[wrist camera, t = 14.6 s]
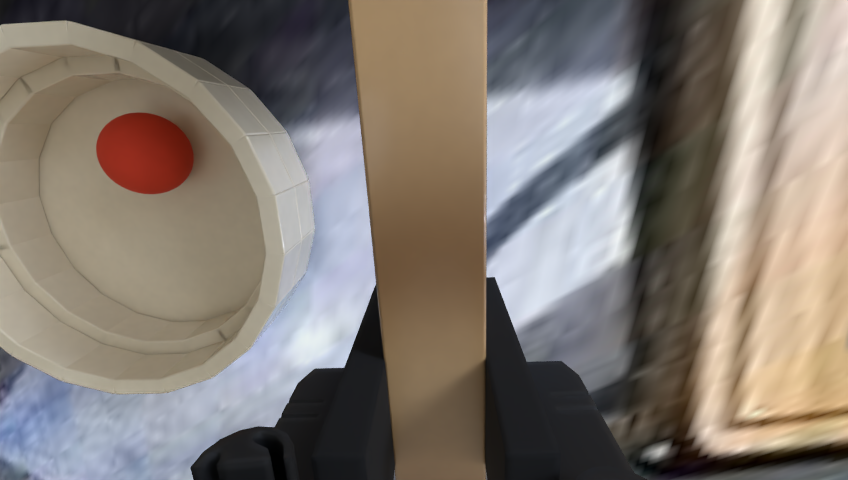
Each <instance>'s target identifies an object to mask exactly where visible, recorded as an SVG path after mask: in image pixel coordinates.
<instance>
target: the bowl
mask: <svg viewBox="0 0 848 480" xmlns="http://www.w3.org/2000/svg"><path fill="white" fill-rule="evenodd" d="M136 112H142V113H150V114H155V115H158V116H161V117H163V118H165V119H167V120H169V121H171V122H172V123H174V124H175V125H177V126H178V127H179V128H180V129H181V130H182V131H183V132H184V133H185V135H186V136H187V138H188V139H189V141H190V143H191V146H192V149H193V154H194V163H193V167H192V170H191V173H190V174H189V176H188V178H187V179H186V180H185V181H184V182H183V183H182V184H181V185H180V186H178V187H177V188H175V189H173V190H171V191H168V192H165V193H160V194H141V193H137V192H133V191H130V190H128V189H125V188H123V187H121V186H120V185H118V184H116V183H115V182H114V181H113V180H111V179H110V178H109V177H108V176H107V175H106V173H105V172H104V171H103V169H102V167H101V166H100V164H99V161H98V158H97V153H96V144H97V139H98V136H99V134H100V132H101V131H102V129H103V128H104V127H105V126H106V124H108V123H109V122H110V121H111V120H113V119H115V118H116V117H119V116H121V115H124V114H128V113H136ZM308 180H309V179H308V177H307V174H306V172H305V170H304V168H303V166H302V163H301V161H300V159H299V157H298V155H297V152H296V150H295V148H294V146H293V144H292V141H291V139H290V137H289V135H288V133H287V131H286V130H285V129H284V128H283V126H282V125H281V124H280V123H279V122H278V121H277V119H276V118H275V117H274V116H273V115H272V114H271V112H270V111H269V110H268V109H267V108H266V107H265V105H264V104H263V103H262V102H261V101H260V100H259V98H258V97H257V96H256V95H255V94H254V93H253V91H251V90H250V89H249V88H248V87H246V86H245V85H243V84H242V83H240V82H238V81H237V80H235V79H234V78H232V77H231V76H229V75H228V74H226V73H225V72H223V71H222V70H220V69H219V68H217V67H215V66H214V65H212V64H211V63H209V62H208V61H206V60H205V59H202V58H200V57H197V56H193V55H190V54H186V53H183V52H179V51H176V50H172V49H169V48H165V47H161V46H158V45H154V44H151V43H147V42H144V41H140V40H137V39H133V38H129V37H126V36H122V35H119V34H115V33H111V32H108V31H104V30H101V29H97V28H93V27H90V26H86V25H83V24H79V23H75V22H72V21H66V20H63V21H47V22H31V23H15V24H2V25H0V347H1V348H2V349H3V350H5V351H6V352H7V353H8V354H11V356H13V357H14V358H16V359H18V360H20V361H22V362H24V363H26V364H28V365H30V366H32V367H34V368H36V369H38V370H40V371H42V372H44V373H46V374H48V375H50V376H52V377H54V378H56V379H58V380H60V381H63V382H66V383H70V384H75V385H79V386H83V387H87V388H91V389H95V390H99V391H104V392H108V393H112V394H153V393H166V392H167V393H169V392H172V391H175V390H178V389H181V388H184V387H187V386H190V385H193V384H196V383H199V382H202V381H205V380H208V379H211V378H213V377H215V376H216V375H217V374H219V373H220V372H221V371H222V370H224V369H225V368H226V367H228V366H229V365H230V364H231V363H233V362H234V361H235V360H237V359H238V358H239V357H240V356H242V355H243V354H244V353H246V352H247V351H248V350H249V349H250V348H251V347H252V346H253V345H254V344H255V342H256V341H257V340H258V339H259V338H260V336H261V335H262V334H263V333H264V331H265V330H266V329H267V328H268V327H269V325H270V324H271V323H272V322H273V321H274V319H275V318H276V317H277V316H278V314H279V313H280V312H281V311H282V310H283V308H284V307H285V306H286V304H287V303H288V301H289V300H290V298H291V296H292V295H293V293H294V291H295V290H296V288H297V286H298V285H299V283H300V282H301V280H302V278H303V277H304V275H305V273H306V271H307V267H308V262H309V258H310V253H311V248H312V243H313V238H314V233H315V223H314V215H313V207H312V199H311V191H310V184H309V181H308Z"/></svg>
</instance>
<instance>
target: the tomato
mask: <svg viewBox="0 0 848 480" xmlns="http://www.w3.org/2000/svg"><path fill="white" fill-rule="evenodd" d="M96 153H97V158H98V161H99V164H100V166H101V167H102V169H103V171H104V172H105V173H106V175H107V176H108V177H109V178H110V179H111V180H113V181H114V182H115V183H116V184H118V185H120V186H121V187H123V188H125V189H128V190H130V191H133V192H137V193H141V194H160V193H165V192H168V191H171V190H173V189H175V188H177V187H178V186H180V185H181V184H182V183H183V182H184V181H185V180H186V179H187V178H188V176H189V174H190V173H191V170H192V167H193V163H194V154H193V149H192V146H191V143H190V141H189V139H188V138H187V136H186V135H185V133H184V132H183V131H182V130H181V129H180V128H179V127H178V126H177V125H175V124H174V123H172V122H171V121H169V120H167V119H165V118H163V117H161V116H158V115H155V114H150V113H142V112H136V113H128V114H124V115H121V116H119V117H116V118H115V119H113V120H111V121H110V122H109V123H108V124H106V126H105V127H104V128H103V129H102V131H101V132H100V134H99V136H98V139H97V144H96Z"/></svg>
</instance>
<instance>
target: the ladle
mask: <svg viewBox="0 0 848 480" xmlns="http://www.w3.org/2000/svg"><path fill="white" fill-rule="evenodd" d="M348 3H349V13H350V23H351V33H352V44H353V54H354V64H355V74H356V84H357V94H358V104H359V114H360V125H361V135H362V145H363V155H364V165H365V175H366V185H367V195H368V206H369V216H370V226H371V236H372V246H373V256H374V266H375V276H376V286H377V297H378V307H379V317H380V327H381V337H382V347H383V357H384V361H385V367H386V377H387V387H388V398H389V408H390V418H391V428H392V439H393V449H394V459H395V479H396V480H486V465H485V365H486V200H487V0H348Z"/></svg>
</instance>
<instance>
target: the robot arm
mask: <svg viewBox="0 0 848 480" xmlns="http://www.w3.org/2000/svg"><path fill="white" fill-rule="evenodd" d="M485 465H486V472H487V479H488V480H647V479H645V478H643V477H641V476H639V475H637V474H635V473H634V472H633V470H632V468H631V467H630V465H629V463H628V461H627V460H626V458H625V456H624V454H623V453H622V451H621V449H620V447H619V445H618V444H617V442H616V440H615V438H614V437H613V435H612V433H611V431H610V430H609V428H608V426H607V424H606V422H605V421H604V419H603V417H602V415H601V414H600V412H599V410H597V408H596V405H595V403H594V401H593V400H592V398H591V396H590V395H588V391H587V389H586V387H585V385H584V384H583V382H582V380H581V378H580V377H579V375H578V374H577V373H575V372H574V371H573V370H572V369H570V368H569V367H568V366H567V365H565V364H564V363H563V362H562V361H546V362H526V359H525V357H524V354H523V351H522V349H521V346H520V343H519V341H518V338H517V335H516V333H515V330H514V327H513V325H512V322H511V320H510V317H509V314H508V312H507V309H506V306H505V304H504V301H503V298H502V296H501V293H500V290H499V288H498V285H497V283H496V280H495V277H490V278H486V365H485ZM394 470H395V459H394V449H393V439H392V428H391V418H390V408H389V398H388V387H387V377H386V367H385V361H384V357H383V347H382V337H381V327H380V317H379V307H378V297H377V286H375V288H374V291H373V294H372V296H371V299H370V301H369V304H368V307H367V309H366V312H365V315H364V317H363V320H362V323H361V325H360V328H359V331H358V333H357V336H356V339H355V341H354V344H353V347H352V349H351V352H350V355H349V357H348V360H347V363H346V365H345V368H325V369H314V370H313V371H312V372H310V373H309V374H308V375H307V376H306V377H305V378H304V379H302V380H301V381H300V382H299V383H298V384H297V386H296V388H295V390H294V392H293V394H292V396H291V398H290V400H289V403H287V405H286V407H285V409H284V411H283V413H282V416H281V418H279V420H278V422H277V424H276V426H275V427H254V428H249V429H245V430H240V431H238V432H235V433H233V434H231V435H229V436H227V437H225V438H222V439H220V440H219V441H218V442H216V443H215V444H214V445H212V446H211V447H209V448H208V449H207V450H205V451H204V452H203V453H202V454H201V455H200V457H199V458H198V459H197V460H196V461H195V463H194V464H193V465H192V466H191V471H192V475H193V479H194V480H393V478H394Z"/></svg>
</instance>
